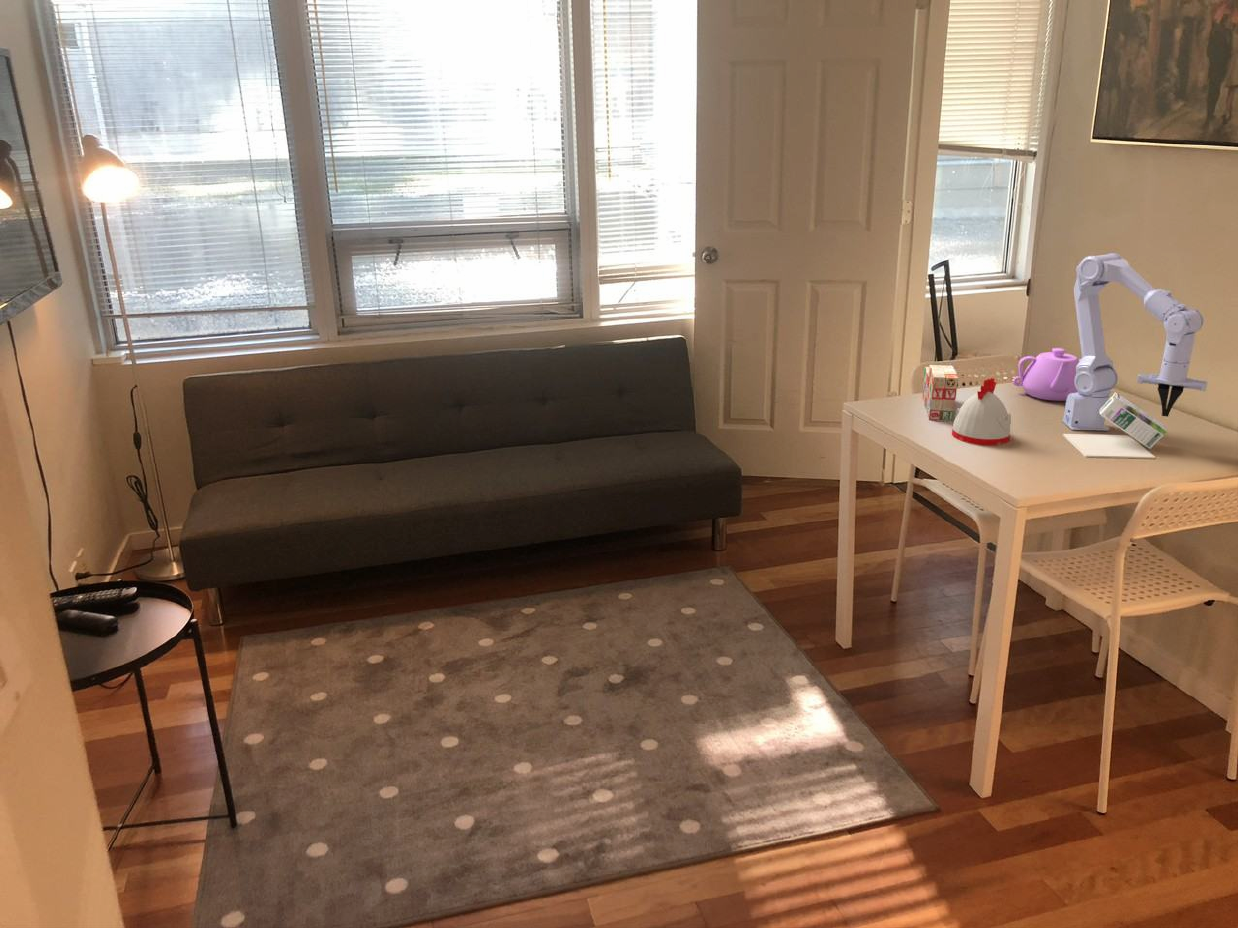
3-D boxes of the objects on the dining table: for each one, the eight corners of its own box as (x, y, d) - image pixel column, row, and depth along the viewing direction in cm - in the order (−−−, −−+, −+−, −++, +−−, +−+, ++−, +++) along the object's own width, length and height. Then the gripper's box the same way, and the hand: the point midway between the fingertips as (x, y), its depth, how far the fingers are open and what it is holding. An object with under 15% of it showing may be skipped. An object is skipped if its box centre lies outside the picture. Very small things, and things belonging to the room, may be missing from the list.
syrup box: (1150, 450, 237) (1099, 415, 239) (1148, 442, 242) (1098, 408, 244) (1167, 432, 234) (1115, 397, 237) (1165, 425, 239) (1114, 391, 242)
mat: (1085, 457, 233) (1085, 455, 233) (1062, 435, 248) (1063, 433, 248) (1155, 458, 232) (1155, 457, 231) (1128, 436, 246) (1128, 435, 246)
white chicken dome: (1018, 436, 248) (1027, 379, 242) (993, 449, 239) (1002, 390, 233) (967, 424, 257) (974, 369, 252) (941, 436, 248) (948, 379, 243)
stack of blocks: (921, 397, 280) (926, 356, 276) (944, 399, 279) (949, 357, 274) (928, 420, 260) (933, 376, 256) (953, 422, 259) (958, 377, 255)
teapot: (1018, 406, 271) (1025, 358, 266) (1007, 385, 291) (1013, 340, 286) (1103, 411, 266) (1112, 362, 262) (1086, 389, 286) (1093, 343, 281)
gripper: (1211, 360, 231) (1199, 415, 236) (1143, 353, 238) (1133, 406, 242) (1211, 367, 225) (1199, 423, 230) (1141, 359, 232) (1130, 414, 237)
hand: (1165, 415), depth 236 cm, fingers closed
